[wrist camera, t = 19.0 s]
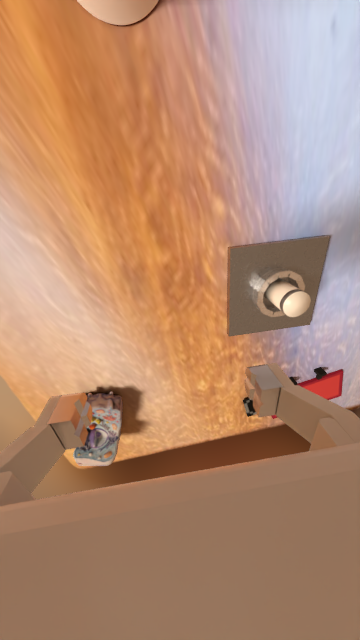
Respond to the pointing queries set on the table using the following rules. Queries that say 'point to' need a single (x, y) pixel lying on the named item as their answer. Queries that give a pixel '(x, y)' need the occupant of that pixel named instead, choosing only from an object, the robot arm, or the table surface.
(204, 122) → the table surface
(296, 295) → the banded peg cylinder
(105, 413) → the cell model
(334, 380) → the red board with handle
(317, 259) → the ring mount
